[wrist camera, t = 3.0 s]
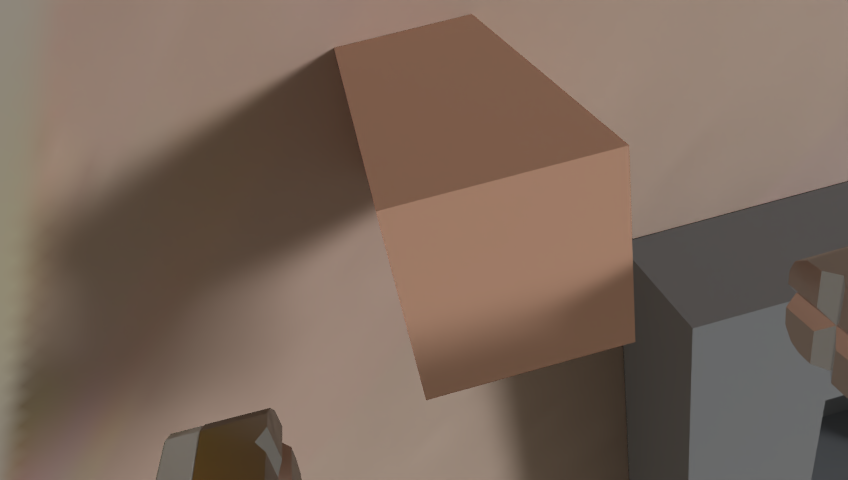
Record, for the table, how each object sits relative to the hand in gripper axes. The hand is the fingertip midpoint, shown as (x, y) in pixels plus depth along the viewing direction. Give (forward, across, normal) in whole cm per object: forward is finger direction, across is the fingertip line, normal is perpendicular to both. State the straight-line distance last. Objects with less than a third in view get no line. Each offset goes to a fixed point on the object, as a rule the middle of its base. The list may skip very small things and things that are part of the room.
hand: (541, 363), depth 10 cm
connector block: (+11, 0, -1) cm, 11 cm away
